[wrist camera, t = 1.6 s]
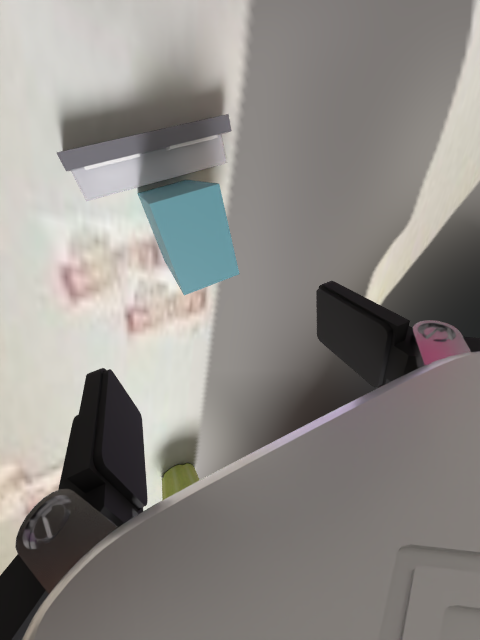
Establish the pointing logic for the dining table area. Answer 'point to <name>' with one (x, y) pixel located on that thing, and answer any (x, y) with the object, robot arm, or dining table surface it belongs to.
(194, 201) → the tea box
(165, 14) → the dining table surface
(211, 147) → the rail
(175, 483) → the plant pot
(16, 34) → the dining table surface
